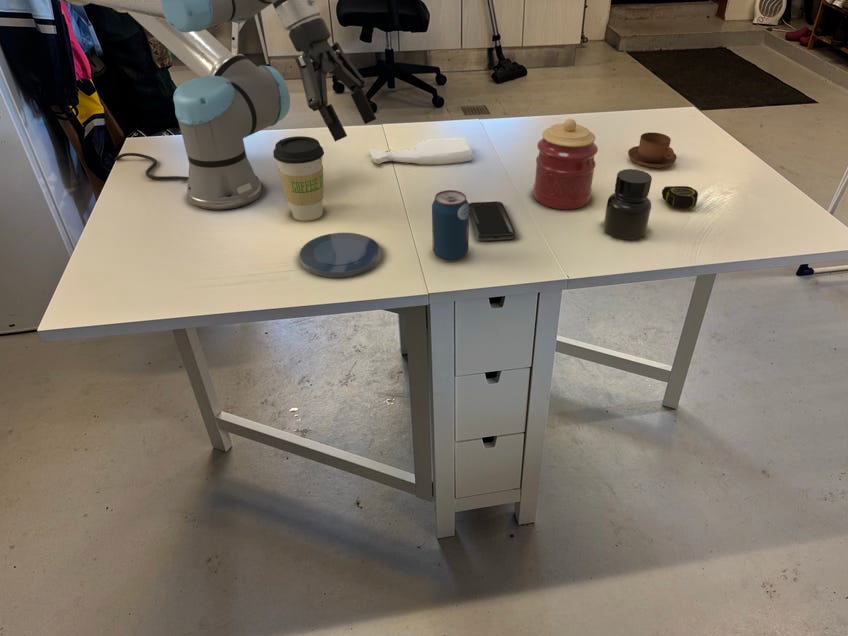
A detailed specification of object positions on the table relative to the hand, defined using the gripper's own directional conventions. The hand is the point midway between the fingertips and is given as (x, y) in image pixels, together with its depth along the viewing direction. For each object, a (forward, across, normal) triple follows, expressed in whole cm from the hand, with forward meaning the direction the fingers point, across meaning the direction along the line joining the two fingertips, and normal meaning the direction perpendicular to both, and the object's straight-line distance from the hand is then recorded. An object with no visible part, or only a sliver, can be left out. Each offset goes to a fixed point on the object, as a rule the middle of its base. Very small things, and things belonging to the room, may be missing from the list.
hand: (356, 130), depth 136 cm
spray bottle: (+14, +27, +3) cm, 30 cm away
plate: (+18, -23, +2) cm, 30 cm away
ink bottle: (+40, +7, -44) cm, 59 cm away
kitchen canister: (+32, +18, -30) cm, 47 cm away
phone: (+27, 0, -19) cm, 34 cm away
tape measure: (+43, +24, -53) cm, 72 cm away
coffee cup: (+11, -10, +14) cm, 20 cm away
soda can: (+27, -15, -16) cm, 35 cm away
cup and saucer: (+38, +46, -46) cm, 75 cm away
